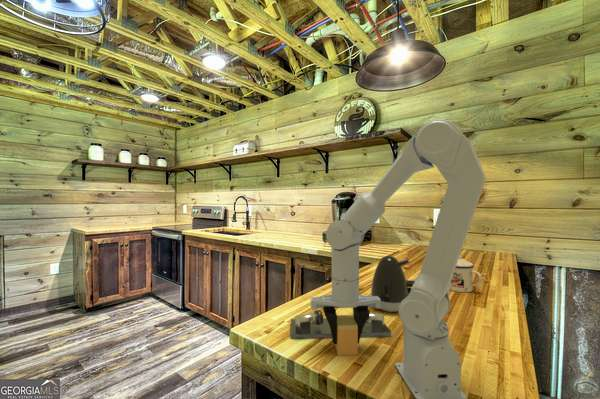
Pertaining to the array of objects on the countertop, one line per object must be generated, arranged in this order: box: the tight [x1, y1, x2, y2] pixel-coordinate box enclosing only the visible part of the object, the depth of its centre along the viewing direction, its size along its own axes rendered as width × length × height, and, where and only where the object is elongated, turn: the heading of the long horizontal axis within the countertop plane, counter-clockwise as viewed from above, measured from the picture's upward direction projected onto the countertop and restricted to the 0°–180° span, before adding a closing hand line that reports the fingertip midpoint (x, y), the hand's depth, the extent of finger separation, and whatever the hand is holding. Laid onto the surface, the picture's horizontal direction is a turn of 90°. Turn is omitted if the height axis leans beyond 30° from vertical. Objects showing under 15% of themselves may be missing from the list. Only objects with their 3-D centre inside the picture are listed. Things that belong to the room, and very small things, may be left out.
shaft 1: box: [294, 309, 324, 335], centre depth 65 cm, size 6×3×4 cm, turn 112°
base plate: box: [290, 317, 392, 340], centre depth 67 cm, size 8×23×1 cm, turn 92°
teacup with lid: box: [450, 255, 483, 293], centre depth 96 cm, size 12×9×12 cm
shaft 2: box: [366, 312, 385, 333], centre depth 65 cm, size 6×3×4 cm, turn 72°
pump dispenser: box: [370, 255, 410, 313], centre depth 80 cm, size 10×10×15 cm
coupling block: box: [334, 314, 359, 356], centre depth 59 cm, size 4×5×6 cm
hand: (345, 341), depth 59 cm, fingers closed on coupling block, 4 cm apart
